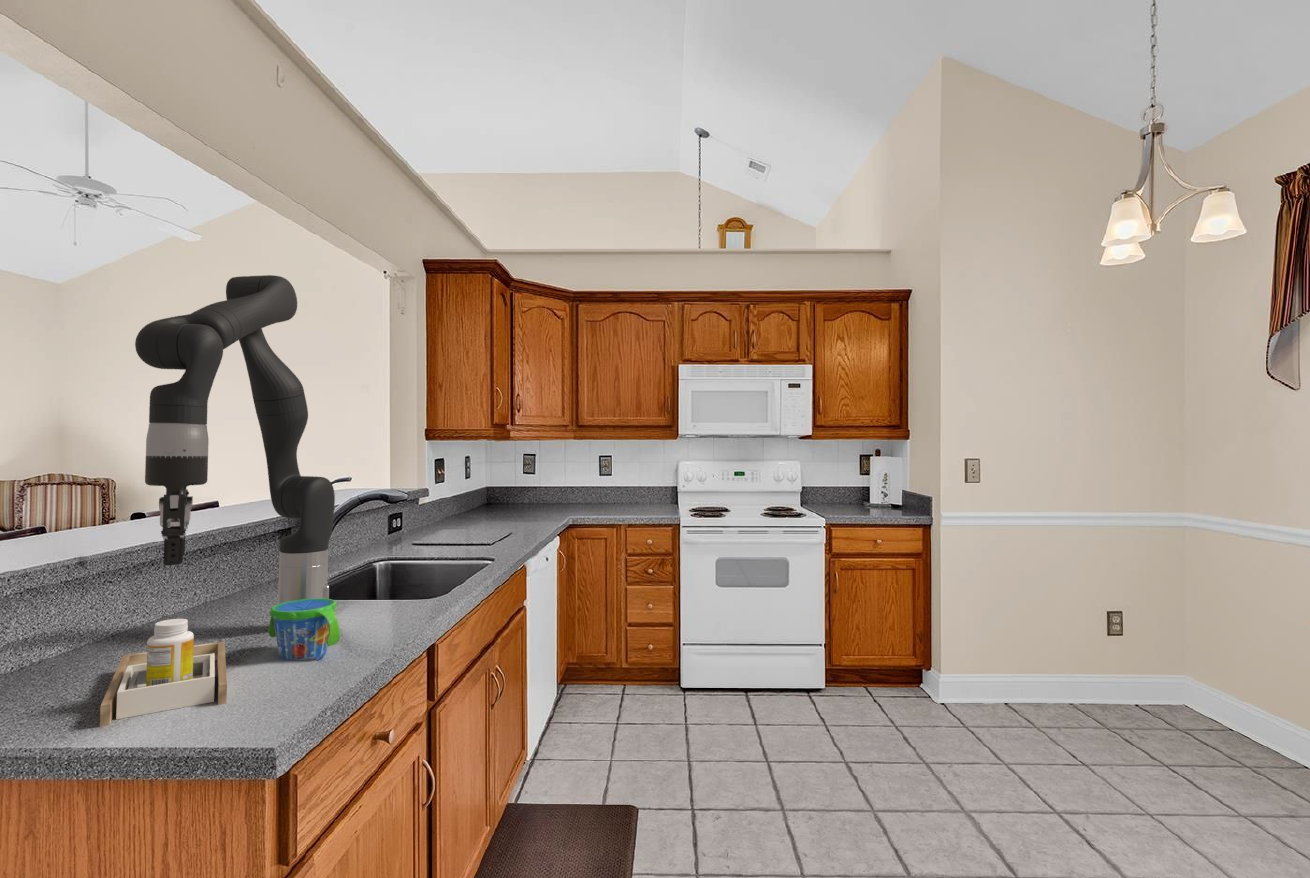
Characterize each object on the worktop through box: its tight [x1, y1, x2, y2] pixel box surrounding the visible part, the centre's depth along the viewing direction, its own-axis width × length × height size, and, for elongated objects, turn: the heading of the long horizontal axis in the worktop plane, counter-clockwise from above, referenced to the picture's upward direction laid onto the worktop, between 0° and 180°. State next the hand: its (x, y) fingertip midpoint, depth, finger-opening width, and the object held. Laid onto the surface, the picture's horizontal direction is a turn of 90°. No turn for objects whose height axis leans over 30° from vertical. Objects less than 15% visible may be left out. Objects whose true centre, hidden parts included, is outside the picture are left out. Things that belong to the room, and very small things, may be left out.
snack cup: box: [267, 598, 341, 661], centre depth 114 cm, size 16×10×10 cm
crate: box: [115, 653, 216, 720], centre depth 93 cm, size 11×13×4 cm
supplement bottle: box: [146, 618, 195, 686], centre depth 92 cm, size 6×6×10 cm
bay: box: [99, 640, 228, 728], centre depth 97 cm, size 14×25×4 cm, turn 36°
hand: (174, 560), depth 93 cm, fingers open, 8 cm apart
